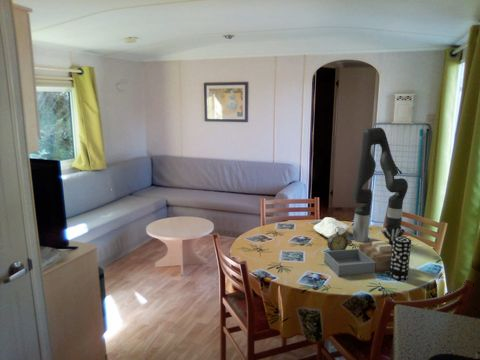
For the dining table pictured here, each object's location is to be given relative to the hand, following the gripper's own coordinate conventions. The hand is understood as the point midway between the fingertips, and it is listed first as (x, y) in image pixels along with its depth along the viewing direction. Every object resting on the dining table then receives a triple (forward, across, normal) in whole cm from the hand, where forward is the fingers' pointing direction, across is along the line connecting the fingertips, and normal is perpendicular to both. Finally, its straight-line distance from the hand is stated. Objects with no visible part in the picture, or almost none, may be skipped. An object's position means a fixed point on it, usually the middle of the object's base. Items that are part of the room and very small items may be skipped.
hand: (391, 246), depth 195 cm
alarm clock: (+10, +23, -18) cm, 31 cm away
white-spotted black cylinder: (+10, +5, +15) cm, 19 cm away
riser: (+10, +7, 0) cm, 12 cm away
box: (+10, +24, 0) cm, 26 cm away
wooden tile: (+1, +6, 0) cm, 6 cm away
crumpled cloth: (+10, +11, -48) cm, 50 cm away
